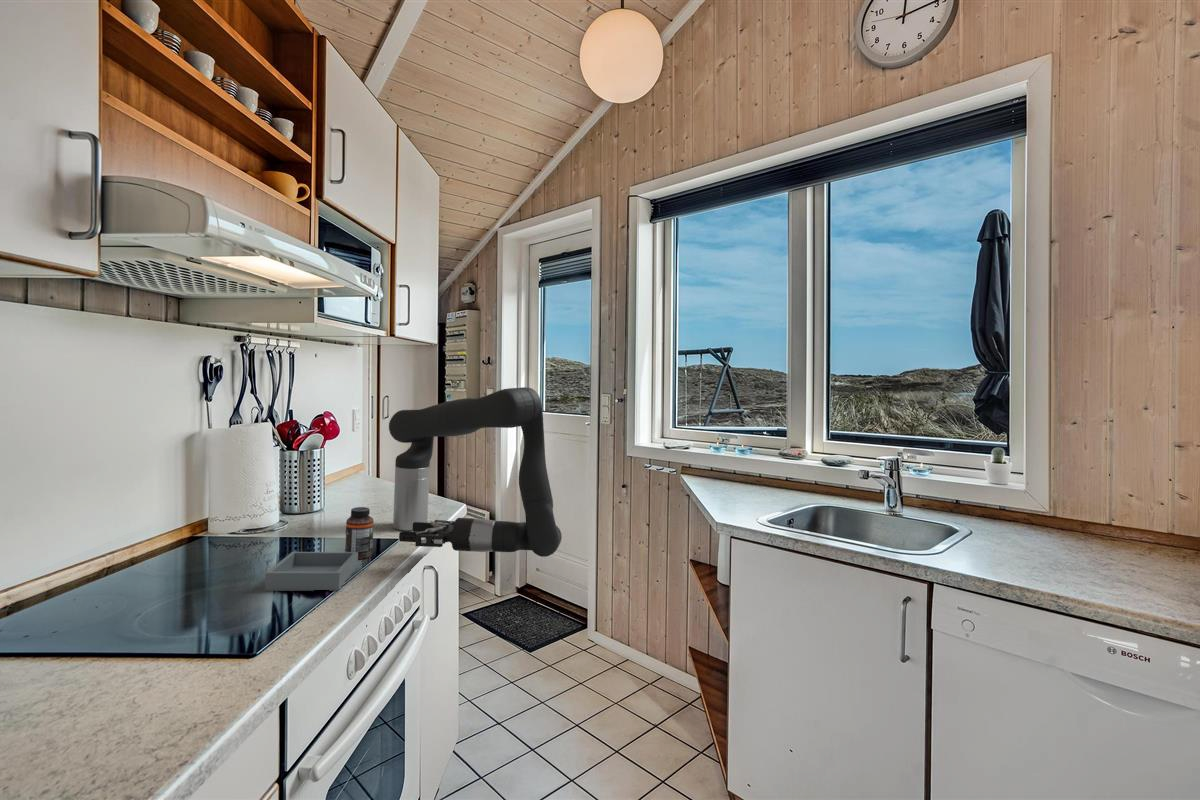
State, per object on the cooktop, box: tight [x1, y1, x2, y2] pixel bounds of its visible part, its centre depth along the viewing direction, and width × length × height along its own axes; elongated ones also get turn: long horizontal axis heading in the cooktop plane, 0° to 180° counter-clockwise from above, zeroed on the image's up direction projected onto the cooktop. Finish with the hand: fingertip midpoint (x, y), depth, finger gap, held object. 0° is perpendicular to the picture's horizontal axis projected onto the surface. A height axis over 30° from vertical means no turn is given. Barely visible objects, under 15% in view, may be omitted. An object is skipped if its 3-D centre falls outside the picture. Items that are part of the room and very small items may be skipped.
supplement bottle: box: [344, 506, 375, 560], centre depth 134 cm, size 6×6×11 cm
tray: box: [264, 551, 359, 592], centre depth 119 cm, size 14×14×4 cm
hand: (406, 531), depth 134 cm, fingers open, 8 cm apart
